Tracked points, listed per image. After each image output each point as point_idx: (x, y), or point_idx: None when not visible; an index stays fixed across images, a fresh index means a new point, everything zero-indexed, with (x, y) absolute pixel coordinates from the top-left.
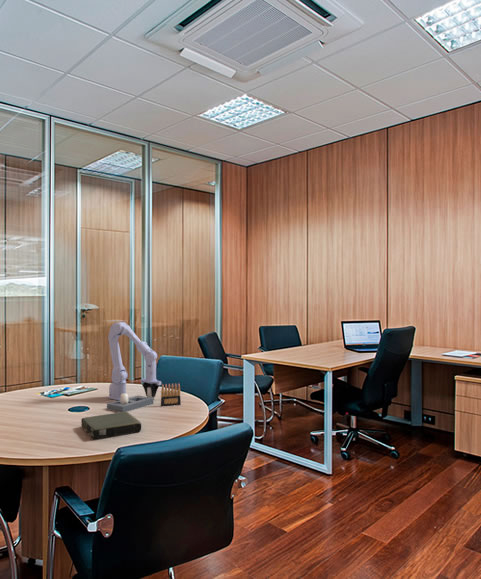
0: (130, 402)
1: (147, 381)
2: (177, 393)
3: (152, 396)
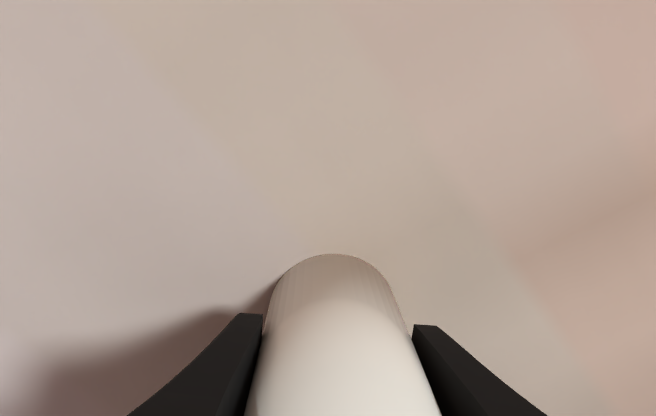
0: None
1: None
2: None
3: None
